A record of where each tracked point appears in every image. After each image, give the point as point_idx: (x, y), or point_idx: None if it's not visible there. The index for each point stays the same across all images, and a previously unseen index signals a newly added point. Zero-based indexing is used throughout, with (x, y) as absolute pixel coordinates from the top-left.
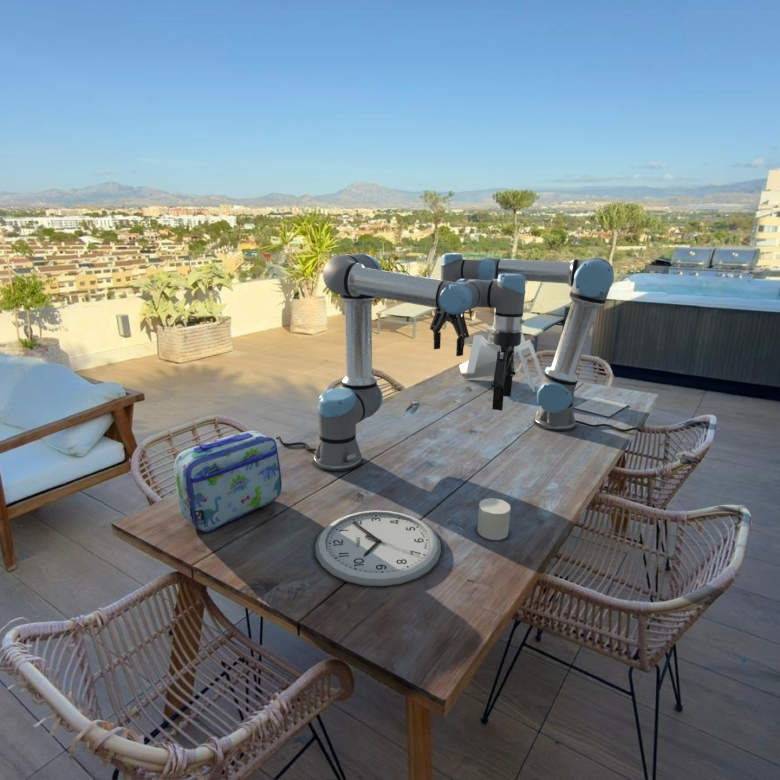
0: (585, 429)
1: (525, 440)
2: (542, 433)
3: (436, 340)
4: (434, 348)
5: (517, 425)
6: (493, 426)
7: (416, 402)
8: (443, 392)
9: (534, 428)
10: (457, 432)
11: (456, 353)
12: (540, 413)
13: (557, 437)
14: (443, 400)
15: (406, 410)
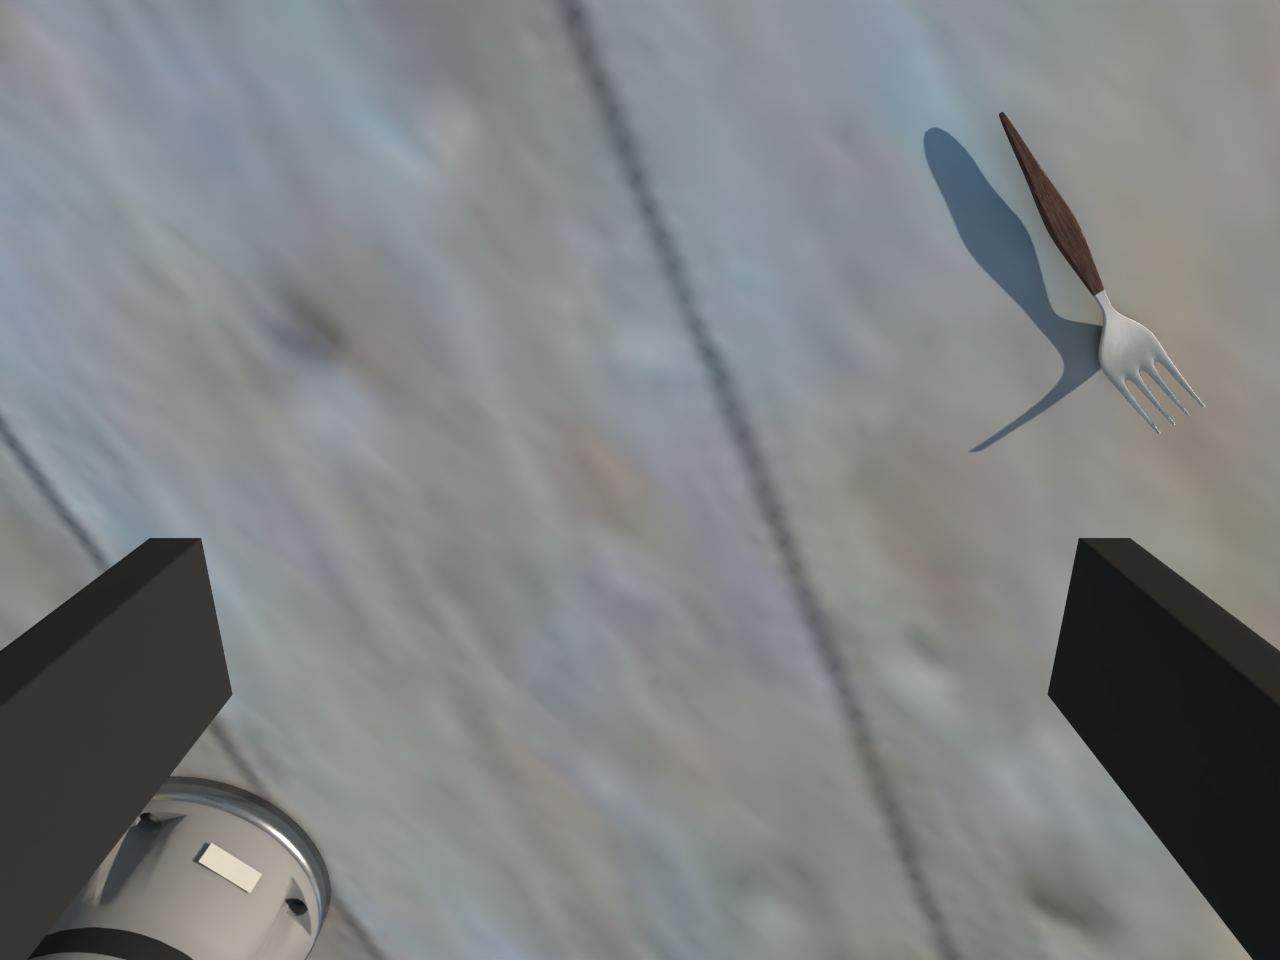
0: None
1: (18, 540)
2: None
3: (1222, 725)
4: (1107, 548)
5: (281, 686)
6: (334, 539)
7: (1116, 357)
8: None
9: None
10: (343, 207)
11: (160, 568)
12: (177, 860)
13: None
14: (1009, 599)
15: (1000, 115)
